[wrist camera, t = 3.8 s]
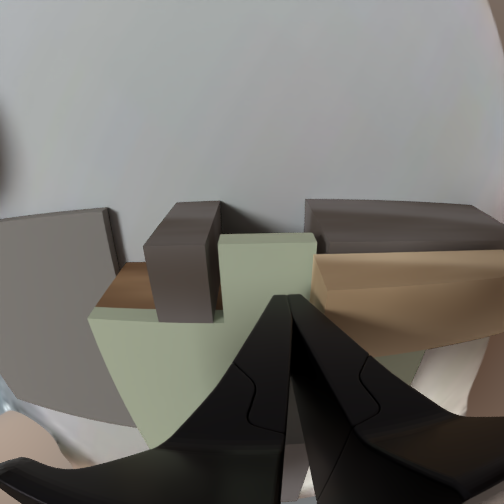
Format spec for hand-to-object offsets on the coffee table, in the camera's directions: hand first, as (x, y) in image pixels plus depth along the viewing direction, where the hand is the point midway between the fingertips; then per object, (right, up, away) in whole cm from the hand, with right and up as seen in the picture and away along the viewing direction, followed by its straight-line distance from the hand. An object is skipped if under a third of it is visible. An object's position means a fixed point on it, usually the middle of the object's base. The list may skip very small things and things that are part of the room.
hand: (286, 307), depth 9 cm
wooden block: (+5, 0, +1) cm, 5 cm away
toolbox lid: (0, -5, +4) cm, 6 cm away
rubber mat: (-16, -5, +9) cm, 19 cm away
